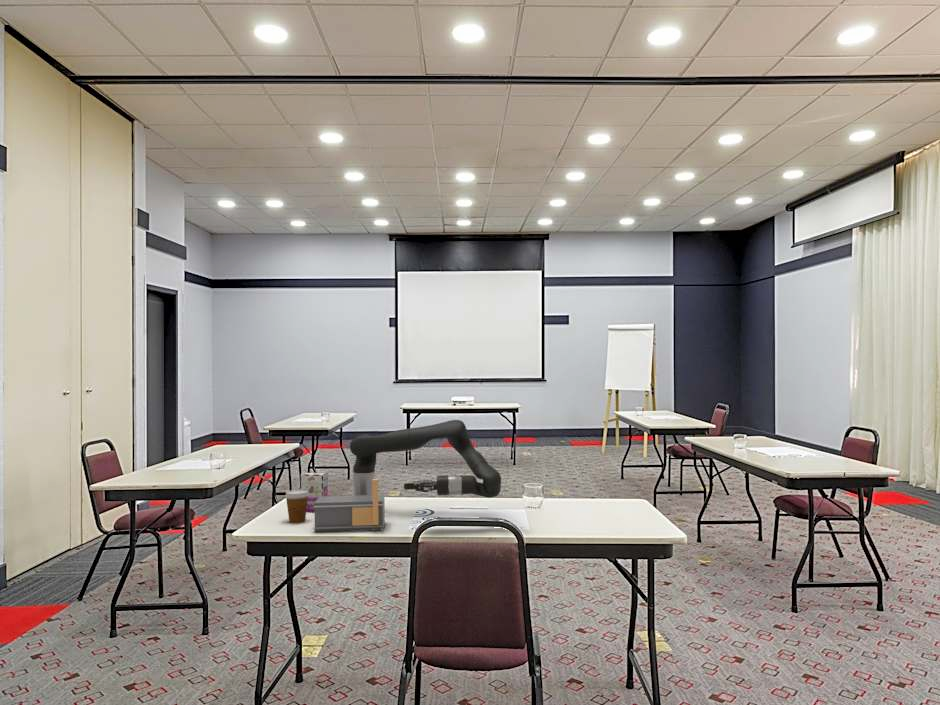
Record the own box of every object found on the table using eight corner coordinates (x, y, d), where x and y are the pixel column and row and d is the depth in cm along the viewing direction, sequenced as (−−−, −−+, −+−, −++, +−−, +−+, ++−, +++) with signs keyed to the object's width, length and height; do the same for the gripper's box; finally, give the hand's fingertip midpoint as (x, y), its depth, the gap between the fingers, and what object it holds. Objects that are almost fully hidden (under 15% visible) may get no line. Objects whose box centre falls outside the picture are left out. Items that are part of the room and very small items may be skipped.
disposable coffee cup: (284, 519, 271) (284, 490, 272) (307, 517, 275) (307, 488, 275) (286, 524, 262) (286, 494, 263) (310, 522, 266) (310, 492, 266)
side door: (352, 525, 252) (352, 478, 252) (378, 524, 253) (378, 478, 253) (351, 527, 248) (351, 480, 248) (378, 526, 249) (377, 479, 249)
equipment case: (319, 523, 263) (319, 496, 263) (384, 522, 265) (384, 494, 265) (313, 532, 250) (313, 504, 250) (382, 530, 251) (382, 502, 251)
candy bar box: (328, 510, 288) (328, 472, 288) (323, 512, 283) (322, 474, 283) (306, 509, 291) (306, 472, 291) (300, 511, 286) (299, 473, 286)
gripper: (448, 472, 259) (404, 473, 257) (449, 478, 245) (403, 479, 244) (448, 491, 259) (404, 492, 257) (450, 498, 245) (403, 499, 244)
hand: (404, 486), depth 251 cm, fingers closed
